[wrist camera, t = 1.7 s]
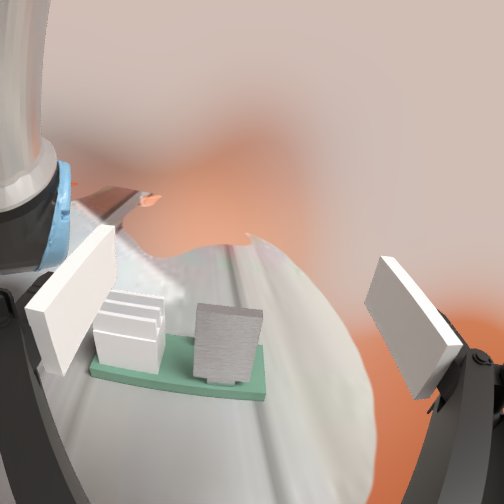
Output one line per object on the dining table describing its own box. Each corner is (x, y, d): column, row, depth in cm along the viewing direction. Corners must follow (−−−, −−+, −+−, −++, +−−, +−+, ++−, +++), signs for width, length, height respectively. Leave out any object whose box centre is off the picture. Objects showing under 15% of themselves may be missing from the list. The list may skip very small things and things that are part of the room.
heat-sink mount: (91, 376, 32) (77, 317, 28) (110, 333, 39) (103, 276, 35) (263, 401, 34) (279, 345, 30) (260, 353, 41) (273, 297, 37)
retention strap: (193, 382, 33) (196, 310, 28) (196, 357, 36) (201, 286, 32) (247, 387, 33) (263, 317, 29) (247, 362, 37) (261, 293, 32)
